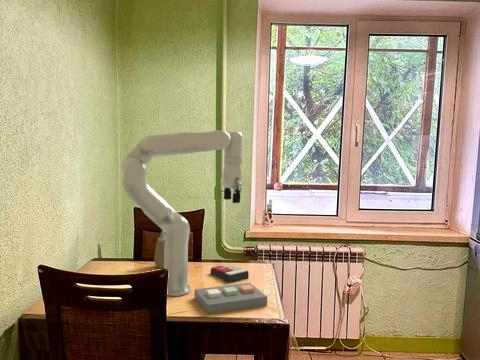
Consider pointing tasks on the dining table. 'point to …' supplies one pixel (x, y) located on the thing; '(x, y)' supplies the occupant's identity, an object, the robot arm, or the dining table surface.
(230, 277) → the button control box
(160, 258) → the squeeze bottle
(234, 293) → the key sage
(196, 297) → the keypad
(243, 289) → the key terracotta
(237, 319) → the dining table surface
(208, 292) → the key ivory
